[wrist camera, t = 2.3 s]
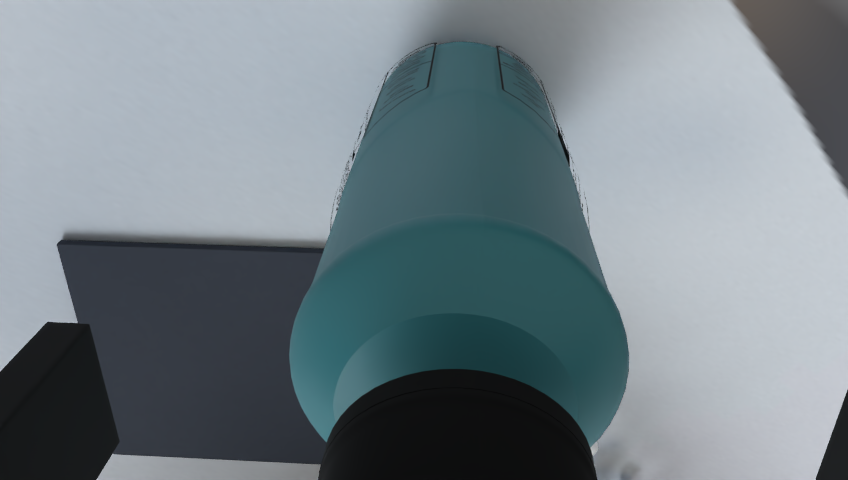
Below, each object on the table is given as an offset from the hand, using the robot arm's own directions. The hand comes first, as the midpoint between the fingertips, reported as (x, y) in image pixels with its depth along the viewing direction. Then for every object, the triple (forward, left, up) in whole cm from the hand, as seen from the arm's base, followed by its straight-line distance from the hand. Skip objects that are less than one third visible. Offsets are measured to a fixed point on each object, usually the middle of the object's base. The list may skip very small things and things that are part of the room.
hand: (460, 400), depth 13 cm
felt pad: (+12, -11, -16) cm, 23 cm away
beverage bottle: (0, 0, -16) cm, 16 cm away
